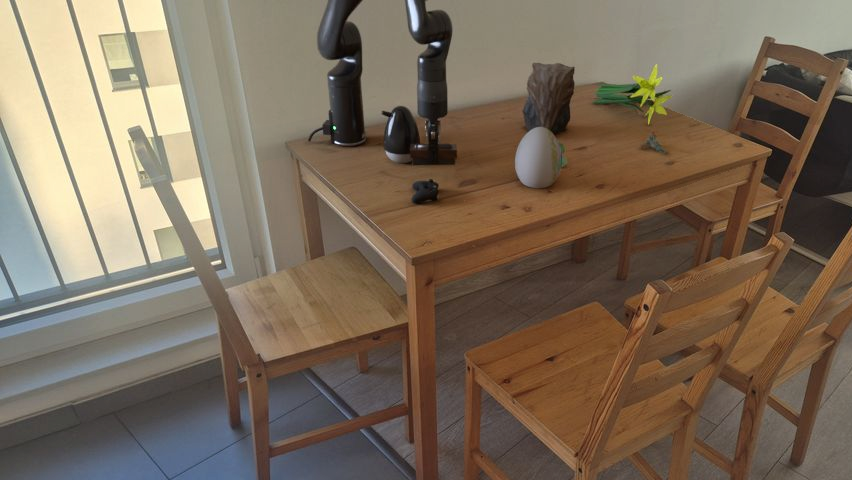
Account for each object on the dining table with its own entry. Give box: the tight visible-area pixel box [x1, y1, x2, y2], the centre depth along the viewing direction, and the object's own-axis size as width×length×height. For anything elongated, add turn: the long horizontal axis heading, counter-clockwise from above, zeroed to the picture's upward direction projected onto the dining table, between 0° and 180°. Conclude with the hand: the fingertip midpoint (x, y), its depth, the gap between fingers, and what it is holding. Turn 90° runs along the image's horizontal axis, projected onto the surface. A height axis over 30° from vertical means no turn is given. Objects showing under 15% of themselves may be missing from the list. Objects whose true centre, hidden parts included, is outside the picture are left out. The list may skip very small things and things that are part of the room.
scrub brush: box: [410, 143, 458, 166], centre depth 177 cm, size 12×4×5 cm, turn 95°
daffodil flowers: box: [592, 63, 674, 126], centre depth 225 cm, size 17×15×35 cm
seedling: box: [558, 141, 568, 168], centre depth 192 cm, size 7×8×7 cm
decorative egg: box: [514, 127, 563, 189], centre depth 176 cm, size 12×12×15 cm
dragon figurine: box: [639, 129, 667, 155], centre depth 202 cm, size 7×7×8 cm
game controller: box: [411, 178, 440, 204], centre depth 169 cm, size 10×5×6 cm
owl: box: [522, 62, 576, 137], centre depth 209 cm, size 13×13×20 cm
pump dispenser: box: [380, 105, 422, 164], centre depth 185 cm, size 10×10×15 cm
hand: (433, 160), depth 178 cm, fingers closed on scrub brush, 4 cm apart
